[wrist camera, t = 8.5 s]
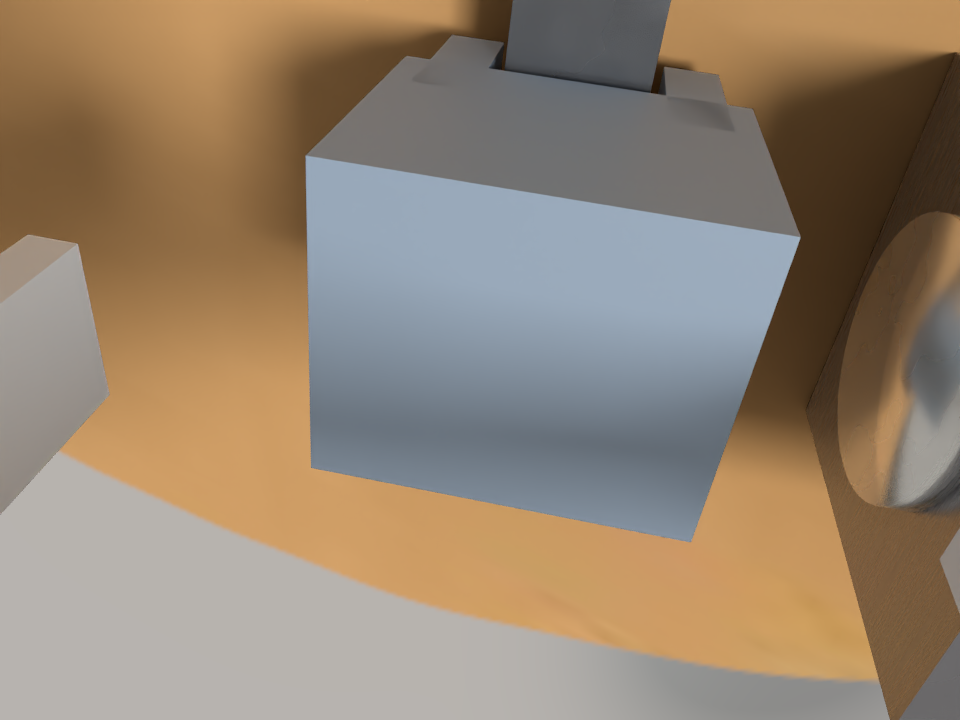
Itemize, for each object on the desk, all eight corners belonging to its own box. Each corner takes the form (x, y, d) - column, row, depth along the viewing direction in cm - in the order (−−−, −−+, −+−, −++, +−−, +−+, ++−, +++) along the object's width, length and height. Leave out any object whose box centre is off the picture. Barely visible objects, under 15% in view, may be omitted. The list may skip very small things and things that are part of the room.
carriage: (430, 31, 18) (305, 155, 12) (741, 78, 18) (800, 237, 11) (415, 265, 22) (311, 467, 15) (675, 310, 21) (690, 542, 14)
